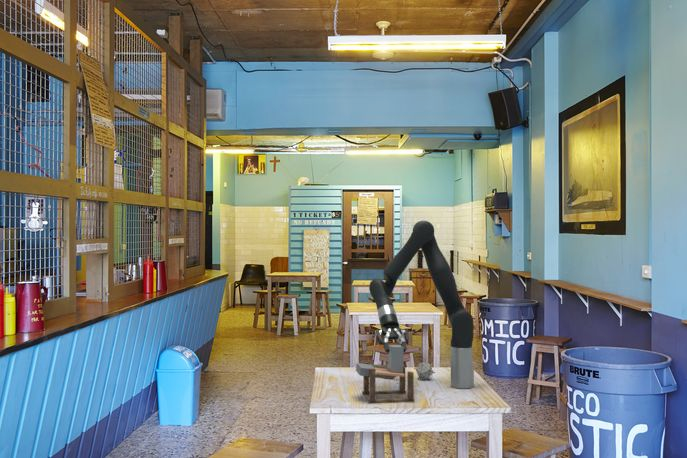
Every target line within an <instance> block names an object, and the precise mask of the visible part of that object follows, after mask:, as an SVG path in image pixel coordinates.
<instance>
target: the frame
mask: <svg viewBox="0 0 687 458" xmlns="http://www.w3.org/2000/svg"><path fill="white" fill-rule="evenodd" d="M362 364H370V362H369V361H363V363H362ZM406 372H407V376H405V377H400V376H398V377H399V381H398V382H399V390H397V389H395V390H394V389H393V390H376V378H375V373H376V369H375V368H372V369H369V376H362V377H363V385H362V386H363V391H362V393H361V394H362V396H366V395H367V396H369V397H368V400H367V402H368V404H390V403H391V404H393V403H414V402H415V397H414V396H415V395H414V393H415V391H414V389H415V388H414V387H415V386H414V383H415V382H414V379H415V378H414V376H415V375H414V372H413V371H406V365H405V364H403V372H402V373H403V374H405V375H406ZM406 378H407V381H406ZM406 383H407V385H406ZM406 388H407V389H406ZM406 390H407V391H406ZM400 394H401V395H403V394H405V395H407V397H404V398H403V397H402V398H376V396H378V395H379V396H380V395H400Z"/></svg>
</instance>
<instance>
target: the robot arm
mask: <svg viewBox="0 0 687 458" xmlns="http://www.w3.org/2000/svg"><path fill="white" fill-rule="evenodd" d="M420 250H421V252H422V253H423V257H424V260H425V263H426V267H427V269H428V272H429V276H430V277H431V279H432V280H431V281H432V283H433V285H434V286H435V289H436V290H437V293H438V295H439V297H440V298H441V300H442V302H443V305H444V307H445V311H446V314H447V316H448V320H449V324H450V325H451V338H450V387H451V388H455V389H472V388H475V366H474V364H473V341H474V329H475V327H474V318H473V316H472V314H471V313H470V312H469V311H467V310H466V308H465V306H464V305H463V302H462V299H461V298H460V295H459V292H458V286H457V282H456V279H455V276H454V273H453V272H452V268H451V267H450V265H449V262H448V261H447V259H446V257H445V256H444V254H443V252H442V251H441V249H440V247H439V245H438V242H437V239H436V237H435V228H434V225H433V224H432V223H431V222H429V221H428V220H420V221H417V222H416V223H415V224H414V225H413V227H412V232H411V233H410V236H409V238H408V239H407V240H406V242H405V243H404V245H403V246H402V247H401V249H400V250H399V251H398V252H397V253H396V255H395V256H394V257H393V258H392V259H391V261H390V262H389V263H388V265H387V266H386V267H385V268H384V270H383V274H384V276H385V277H386V278H385V280H383V279H381V278H379V277H378V278H373V279H372V280H371V281H370V283H369V285H368V287H369V289H368V290H369V293H370V295H371V298H372V300H373V301H374V303H375V304H376V311H377V316H378V320H379V324H380V329H375V333H374V336H375V338H376V340H377V343H378V345H380V346H381V345H383V348H384V352H386V353H387V354H388V353H389V351H390V349H389V345H390V344H389V342H388V341H389V340H390V341H391V340H396V341H397V343H399V345H401V346H403V347H404V353H406V352H407V344H408V343H409V341H410V335H409V329H408V328H404V329H402V328H401V327H400V323H399V319H398V316H397V312H396V310H395V307H394V304H393V300H392V298H391V297H390V296H391V295H392V294H393V292H394V289H395V287H396V284H397V282H398V279H399V278H400V277H401V275H403V272H405V270H406V269H407V268H408V266H409V265H410V262H411V261H412V260H413V258H414V257H416V256H415V255H416V254H417V253H418V252H419V251H420ZM382 335H383V337H385V338H384V339H383V337H382ZM403 336H404V337H403Z"/></svg>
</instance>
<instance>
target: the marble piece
mask: <svg viewBox="0 0 687 458" xmlns="http://www.w3.org/2000/svg"><path fill="white" fill-rule="evenodd" d="M371 365H372V366H373V367H374V368H385V369H387V365H388V364H384V365H383V364H371ZM395 377H396V376H389V375H379V374H376V375H375V379H376V378H378V379H383V380H384V379H385V380H394V379H395Z"/></svg>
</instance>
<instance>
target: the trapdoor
mask: <svg viewBox="0 0 687 458" xmlns="http://www.w3.org/2000/svg"><path fill="white" fill-rule="evenodd" d="M372 368H374V367H373V366H372V365H371V364H370V363H369V364H363V363H359V362H356V367H355V372H357V374H358V375H359V376H360V377H361V376H362V377H363V376H369V369H372ZM375 369H376V373H375V375H376V374H379V375H389V376H395V377H399V376H400V377H405V378H406V373H405V374H403V373H402V372H390V371H388V370H387V369H385V368H375Z"/></svg>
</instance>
